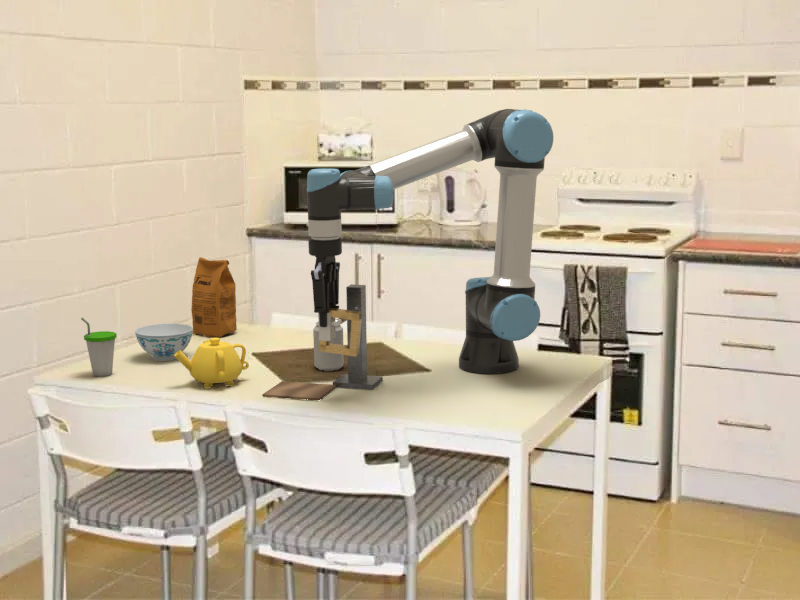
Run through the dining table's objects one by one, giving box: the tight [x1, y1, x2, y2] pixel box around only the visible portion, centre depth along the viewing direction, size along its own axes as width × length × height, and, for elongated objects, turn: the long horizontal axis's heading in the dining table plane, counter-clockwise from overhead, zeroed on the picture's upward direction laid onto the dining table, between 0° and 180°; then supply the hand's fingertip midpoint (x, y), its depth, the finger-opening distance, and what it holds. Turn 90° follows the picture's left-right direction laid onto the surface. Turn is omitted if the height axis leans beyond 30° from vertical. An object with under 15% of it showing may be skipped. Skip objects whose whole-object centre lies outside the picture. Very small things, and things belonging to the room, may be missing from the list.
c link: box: [319, 307, 362, 357], centre depth 265 cm, size 9×2×10 cm, turn 74°
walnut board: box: [261, 380, 338, 401], centre depth 272 cm, size 14×12×1 cm
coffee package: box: [190, 256, 238, 338], centre depth 333 cm, size 10×12×22 cm
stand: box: [331, 283, 384, 391], centre depth 270 cm, size 10×20×24 cm, turn 164°
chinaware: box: [134, 322, 193, 362], centre depth 306 cm, size 15×15×8 cm
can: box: [312, 320, 345, 372], centre depth 293 cm, size 8×8×12 cm
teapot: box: [174, 337, 250, 389], centre depth 280 cm, size 14×14×11 cm
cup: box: [80, 317, 117, 378], centre depth 288 cm, size 8×8×15 cm
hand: (327, 338), depth 266 cm, fingers closed on c link, 2 cm apart
